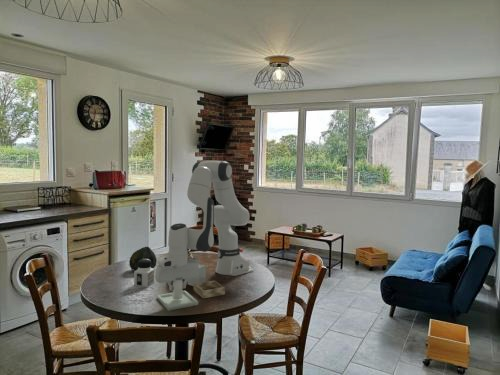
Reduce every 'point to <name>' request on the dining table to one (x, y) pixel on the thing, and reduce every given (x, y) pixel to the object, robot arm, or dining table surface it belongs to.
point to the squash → (142, 257)
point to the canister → (178, 288)
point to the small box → (200, 278)
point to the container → (144, 274)
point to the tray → (177, 301)
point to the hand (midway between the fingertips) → (177, 288)
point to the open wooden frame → (207, 285)
